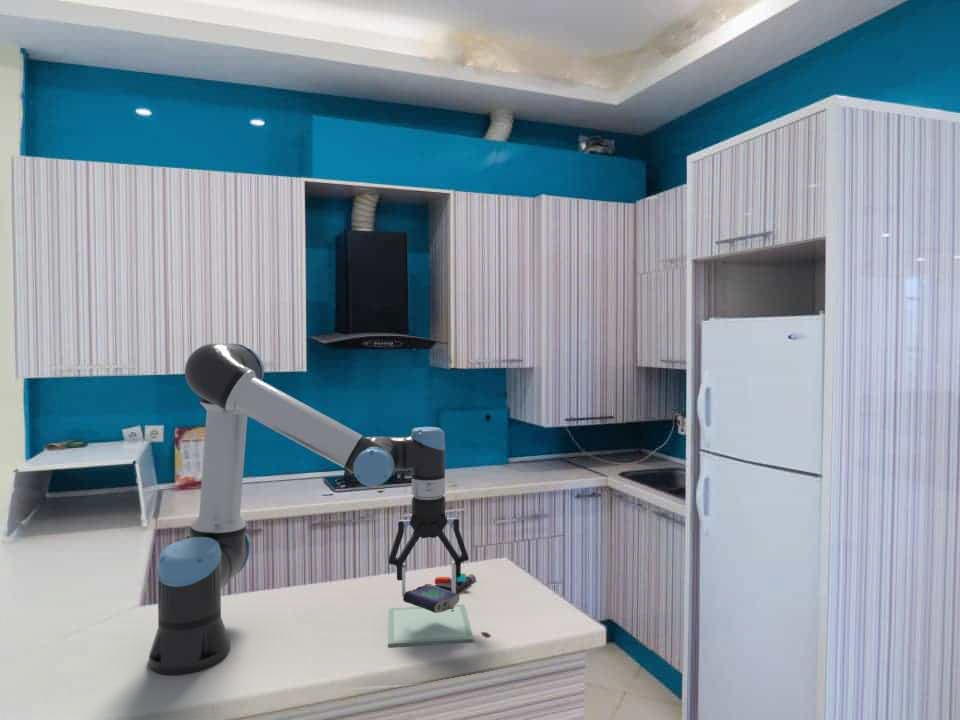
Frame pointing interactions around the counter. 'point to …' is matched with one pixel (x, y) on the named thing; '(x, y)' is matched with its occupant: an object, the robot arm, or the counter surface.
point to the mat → (428, 626)
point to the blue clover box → (432, 598)
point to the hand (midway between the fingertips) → (428, 592)
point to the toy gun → (460, 582)
